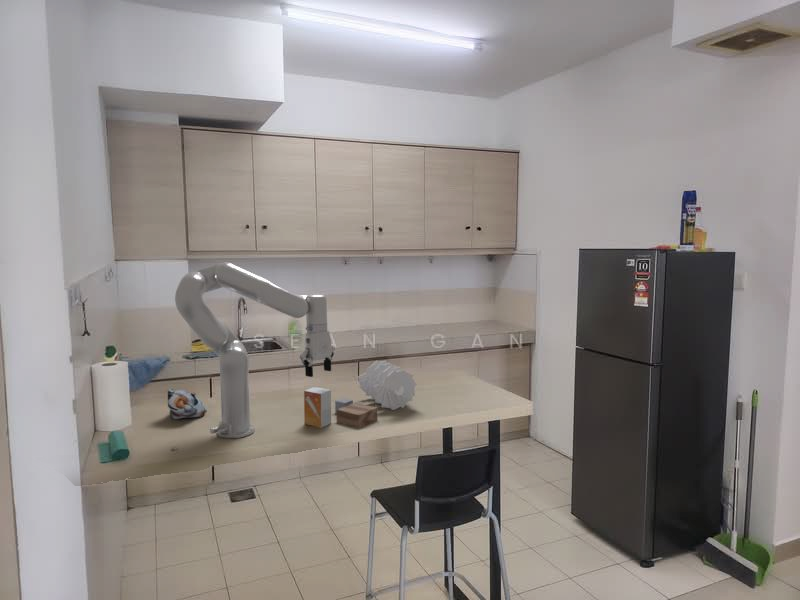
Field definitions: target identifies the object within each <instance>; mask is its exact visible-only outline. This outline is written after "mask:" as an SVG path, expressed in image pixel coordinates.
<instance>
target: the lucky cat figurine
mask: <svg viewBox="0 0 800 600" xmlns="http://www.w3.org/2000/svg"><path fill="white" fill-rule="evenodd" d="M167 407H168V409H169V416H170V417H171V418H172V419H174V421H175V420H180V419H187V418H203V417H204V415H205V413H207V411H208V410H207V409H206V407H205V406H203V402H202V401H201V399H200V398H198V397H196V393H195V392H194V391H192V392H191V393H189V392H188V391H186V390H184V389H177V390H173V389H172V388H170V389H168V390H167Z"/></svg>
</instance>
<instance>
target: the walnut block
mask: <svg viewBox="0 0 800 600" xmlns="http://www.w3.org/2000/svg"><path fill="white" fill-rule="evenodd" d="M374 420H375V421H378V407H376V406H371V405H367V404H363V403H359V402H353V404H350V405H348V406H345V407H342V408H340V409H337V413H336V423H340V422H341V424H344V423H345V424H344V425H347V424H348V425H347V426H351V425H353V426H352V427H355V426H357V427H356V428H361V427H363V426H362V425H364V426H366V425H368V424H370V422H371V423H373V422H375V421H374ZM372 421H373V422H372ZM367 423H368V424H367ZM365 424H366V425H365ZM360 426H361V427H360Z"/></svg>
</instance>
